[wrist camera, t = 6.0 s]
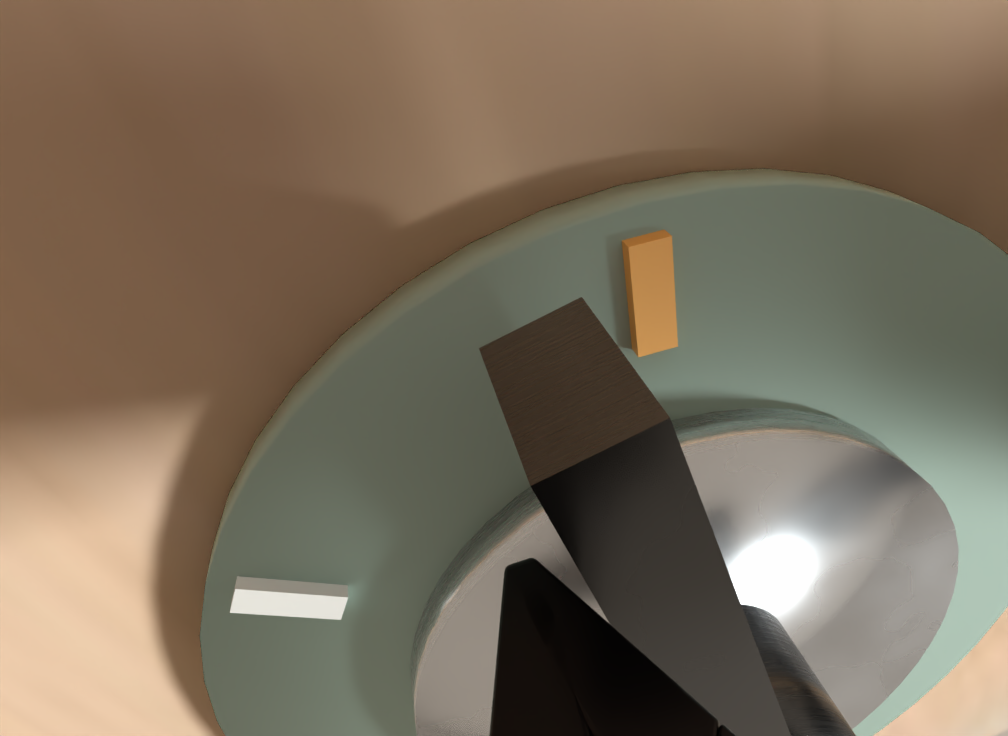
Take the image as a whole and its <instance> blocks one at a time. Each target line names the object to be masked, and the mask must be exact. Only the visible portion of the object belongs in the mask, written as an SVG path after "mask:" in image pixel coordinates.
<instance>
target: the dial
mask: <svg viewBox="0 0 1008 736" xmlns="http://www.w3.org/2000/svg"><path fill="white" fill-rule="evenodd" d="M479 350H480V353H481V356H482V358H483V361H484V364H485V366H486V369H487V372H488V374H489V377H490V380H491V382H492V385H493V388H494V390H495V393H496V396H497V398H498V401H499V404H500V406H501V409H502V412H503V414H504V417H505V420H506V422H507V425H508V428H509V430H510V433H511V436H512V438H513V441H514V444H515V446H516V449H517V452H518V454H519V457H520V460H521V462H522V465H523V468H524V470H525V473H526V476H527V478H528V481H529V484H530V486H531V487H529V488H528V489H526V490H525V491H523V492H522V493H520V494H519V495H518V496H516V497H515V498H514V499H513V500H512V501H510V502H509V503H508V504H507V505H506V506H505V507H503V508H502V509H501V510H500V511H499V512H498V513H496V514H495V515H494V516H493V517H492V518H491V519H489V520H488V521H487V522H486V523H485V524H484V525H483V526H482V527H481V528H480V529H479V531H478V532H477V533H476V534H475V535H474V536H473V537H472V538H471V539H470V540H469V541H468V542H467V543H466V545H465V546H464V547H463V548H462V549H461V550H460V551H459V552H458V554H457V555H456V557H455V558H454V559H453V561H452V562H451V563H450V565H449V566H448V568H447V569H446V570H445V572H444V573H443V575H442V576H441V577H440V579H439V580H438V582H437V584H436V586H435V588H434V590H433V592H432V594H431V595H430V597H429V599H428V601H427V603H426V605H425V607H424V609H423V612H422V615H421V618H420V621H419V623H418V626H417V629H416V632H415V635H414V641H413V647H412V653H411V660H410V670H411V689H412V698H413V707H414V717H415V726H416V732H417V736H489V734H490V723H491V712H492V701H493V689H494V678H495V667H496V656H497V645H498V634H499V623H500V612H501V601H502V590H503V579H504V570H505V568H506V566H508V565H510V564H513V563H516V562H519V561H522V560H525V559H528V558H534V559H536V560H538V561H539V562H540V563H541V564H542V565H543V566H545V567H546V568H547V569H548V570H549V571H550V572H551V573H553V574H554V575H555V576H556V577H557V578H558V579H559V580H560V581H562V582H563V583H564V584H565V585H566V586H567V587H568V588H570V589H571V590H572V591H573V592H574V593H575V594H576V595H577V596H579V597H580V598H581V599H582V600H583V601H584V602H585V603H586V604H588V605H589V606H590V607H591V608H592V609H593V610H594V611H596V612H597V613H598V614H599V615H600V616H601V617H602V618H603V619H605V620H606V621H607V622H608V623H609V624H610V625H611V626H613V627H614V628H615V629H616V630H617V631H618V632H619V633H620V634H622V635H623V636H624V637H625V638H626V639H627V640H628V641H630V642H631V643H632V644H633V645H634V646H635V647H636V648H637V649H639V650H640V651H641V652H642V653H643V654H644V655H645V656H647V657H648V658H649V659H650V660H651V661H652V662H653V663H654V664H656V665H657V666H658V667H659V668H660V669H661V670H662V671H664V672H665V673H666V674H667V675H668V676H669V677H670V678H671V679H673V680H674V681H675V682H676V683H677V684H678V685H679V686H681V687H682V688H683V689H684V690H685V691H686V692H687V693H688V694H690V695H691V696H692V697H693V698H694V699H695V700H696V701H698V702H699V703H700V704H701V705H702V706H703V707H704V708H705V709H707V710H708V711H709V712H710V713H711V714H712V715H713V716H714V717H716V718H717V719H718V720H719V726H720V725H725V726H726V727H727V728H729V729H730V730H731V731H732V732H733V733H734V734H735V735H736V736H856V735H855V733H854V732H853V730H852V729H853V728H854V727H856V726H857V725H858V724H859V723H860V722H862V721H863V720H864V719H865V718H866V717H867V716H868V715H870V714H871V713H872V712H873V711H874V710H875V709H876V708H877V707H879V706H880V705H881V704H882V703H883V702H884V701H885V700H886V699H887V698H888V696H889V695H890V694H891V693H892V692H893V691H894V690H895V689H896V688H897V687H898V686H899V685H900V684H901V683H902V682H903V680H904V679H905V678H906V677H907V675H908V674H909V673H910V672H911V671H912V669H913V668H914V667H915V666H916V664H917V663H918V662H919V660H920V659H921V657H922V656H923V654H924V653H925V651H926V650H927V648H928V647H929V645H930V644H931V642H932V641H933V639H934V637H935V635H936V633H937V631H938V629H939V628H940V626H941V624H942V622H943V620H944V618H945V615H946V613H947V610H948V607H949V605H950V602H951V599H952V596H953V593H954V588H955V583H956V579H957V574H958V554H959V547H958V541H957V536H956V531H955V525H954V523H953V521H952V518H951V516H950V514H949V512H948V509H947V507H946V505H945V503H944V502H943V501H942V499H941V498H940V497H939V495H938V494H937V493H936V491H935V490H934V489H933V487H932V486H931V485H930V484H929V483H928V482H927V481H925V480H924V479H923V478H922V477H921V476H920V475H919V474H918V473H916V472H915V471H914V470H913V469H912V468H911V467H910V466H909V465H907V464H906V463H905V462H904V461H903V460H902V459H901V458H900V457H898V456H897V455H896V454H895V453H894V452H893V451H891V450H890V449H889V448H888V447H887V446H886V445H884V444H883V443H882V442H881V441H880V440H878V439H877V438H876V437H874V436H872V435H870V434H869V433H867V432H865V431H863V430H861V429H859V428H858V427H856V426H854V425H852V424H849V423H846V422H843V421H840V420H837V419H834V418H831V417H828V416H825V415H822V414H816V413H810V412H804V411H798V410H792V409H772V408H746V409H735V410H724V411H713V412H709V413H704V414H699V415H694V416H689V417H684V418H679V419H674V420H671V419H670V417H669V416H668V414H667V413H666V412H665V410H664V409H663V407H662V406H661V405H660V403H659V402H658V401H657V399H656V398H655V397H654V395H653V394H652V392H651V391H650V390H649V388H648V387H647V386H646V384H645V383H644V381H643V380H642V379H641V377H640V376H639V375H638V373H637V372H636V370H635V369H634V368H633V366H632V365H631V364H630V362H629V361H628V360H627V358H626V357H625V355H624V354H623V353H622V351H621V350H620V349H619V347H618V346H617V344H616V343H615V342H614V340H613V339H612V338H611V336H610V335H609V333H608V332H607V331H606V329H605V328H604V327H603V325H602V324H601V322H600V321H599V320H598V318H597V317H596V316H595V314H594V313H593V312H592V310H591V309H590V307H589V306H588V305H587V303H586V302H585V301H584V299H583V298H582V297H580V298H578V299H576V300H574V301H572V302H570V303H568V304H566V305H564V306H562V307H560V308H558V309H556V310H554V311H552V312H550V313H548V314H546V315H544V316H542V317H540V318H538V319H536V320H534V321H532V322H530V323H528V324H526V325H524V326H522V327H520V328H518V329H516V330H514V331H512V332H510V333H508V334H506V335H504V336H502V337H500V338H498V339H496V340H494V341H492V342H490V343H488V344H486V345H484V346H482V347H480V348H479Z"/></svg>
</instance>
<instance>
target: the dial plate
mask: <svg viewBox="0 0 1008 736" xmlns="http://www.w3.org/2000/svg"><path fill="white" fill-rule="evenodd" d="M580 297H582V298H583V299H584V301H585V302H586V303H587V305H588V306H589V307H590V309H591V310H592V312H593V313H594V314H595V316H596V317H597V318H598V320H599V321H600V322H601V324H602V325H603V327H604V328H605V329H606V331H607V332H608V333H609V335H610V336H611V338H612V339H613V340H614V342H615V343H616V344H617V346H618V347H619V349H620V350H621V351H622V353H623V354H624V355H625V357H626V358H627V360H628V361H629V362H630V364H631V365H632V366H633V368H634V369H635V370H636V372H637V373H638V375H639V376H640V377H641V379H642V380H643V381H644V383H645V384H646V386H647V387H648V388H649V390H650V391H651V392H652V394H653V395H654V397H655V398H656V399H657V401H658V402H659V403H660V405H661V406H662V407H663V409H664V410H665V412H666V413H667V414H668V416H669V417H670V419H671V420H674V419H679V418H684V417H689V416H694V415H699V414H704V413H709V412H713V411H724V410H735V409H746V408H772V409H792V410H798V411H804V412H810V413H816V414H822V415H825V416H828V417H831V418H834V419H837V420H840V421H843V422H846V423H849V424H852V425H854V426H856V427H858V428H859V429H861V430H863V431H865V432H867V433H869V434H870V435H872V436H874V437H876V438H877V439H878V440H880V441H881V442H882V443H883V444H884V445H886V446H887V447H888V448H889V449H890V450H891V451H893V452H894V453H895V454H896V455H897V456H898V457H900V458H901V459H902V460H903V461H904V462H905V463H906V464H907V465H909V466H910V467H911V468H912V469H913V470H914V471H915V472H916V473H918V474H919V475H920V476H921V477H922V478H923V479H924V480H925V481H927V482H928V483H929V484H930V485H931V486H932V487H933V489H934V490H935V491H936V493H937V494H938V495H939V497H940V498H941V499H942V501H943V502H944V503H945V505H946V507H947V509H948V512H949V514H950V516H951V518H952V521H953V523H954V525H955V531H956V536H957V541H958V547H959V554H958V574H957V579H956V583H955V588H954V593H953V596H952V599H951V602H950V605H949V607H948V610H947V613H946V615H945V618H944V620H943V622H942V624H941V626H940V628H939V629H938V631H937V633H936V635H935V637H934V639H933V641H932V642H931V644H930V645H929V647H928V648H927V650H926V651H925V653H924V654H923V656H922V657H921V659H920V660H919V662H918V663H917V664H916V666H915V667H914V668H913V669H912V671H911V672H910V673H909V674H908V675H907V677H906V678H905V679H904V680H903V682H902V683H901V684H900V685H899V686H898V687H897V688H896V689H895V690H894V691H893V692H892V693H891V694H890V695H889V696H888V698H887V699H886V700H885V701H884V702H883V703H882V704H881V705H880V706H879V707H877V708H876V709H875V710H874V711H873V712H872V713H871V714H870V715H868V716H867V717H866V718H865V719H864V720H863V721H862V722H860V723H859V724H858V725H857V726H856V727H854V728H853V729H852V730H853V732H854V733H855V735H856V736H873V735H874V734H876V733H877V732H879V731H880V730H881V729H883V728H884V727H885V726H887V725H888V724H889V723H890V722H892V721H893V720H894V719H896V718H897V717H898V716H899V715H901V714H902V713H903V712H905V711H906V710H907V709H909V708H910V707H911V706H912V705H914V704H915V703H916V702H917V701H918V700H919V699H920V698H922V697H923V696H924V695H925V694H926V693H927V692H928V691H929V690H931V689H932V688H933V687H934V686H935V685H936V684H937V683H938V682H940V681H941V680H942V679H943V678H944V677H945V676H946V675H947V674H948V673H949V672H950V671H951V670H952V669H953V668H954V667H955V666H956V665H957V664H958V663H959V662H960V661H961V660H962V659H963V658H964V657H965V656H966V655H967V654H968V653H969V652H970V651H971V650H972V649H973V648H974V646H975V645H976V644H977V643H978V642H979V641H980V640H981V638H982V637H983V636H984V635H985V634H986V632H987V631H988V630H989V629H990V628H991V626H992V625H993V624H994V623H995V622H996V620H997V619H998V618H999V617H1000V616H1001V614H1002V613H1003V612H1004V611H1005V609H1006V608H1007V606H1008V254H1006V253H1005V252H1004V251H1003V250H1001V249H1000V248H999V247H997V246H996V245H995V244H993V243H992V242H991V241H990V240H988V239H987V238H986V237H984V236H983V235H982V234H980V233H979V232H977V231H975V230H973V229H971V228H969V227H967V226H965V225H963V224H960V223H958V222H956V221H954V220H952V219H950V218H948V217H946V216H944V215H942V214H940V213H938V212H935V211H933V210H931V209H929V208H927V207H925V206H922V205H920V204H918V203H915V202H913V201H911V200H908V199H906V198H904V197H901V196H899V195H897V194H894V193H892V192H890V191H887V190H883V189H879V188H876V187H872V186H868V185H865V184H861V183H857V182H854V181H850V180H846V179H843V178H839V177H835V176H832V175H824V174H814V173H804V172H795V171H785V170H775V169H765V168H763V169H742V170H721V171H699V172H689V173H684V174H678V175H673V176H668V177H662V178H657V179H651V180H646V181H641V182H635V183H630V184H624V185H619V186H615V187H612V188H609V189H606V190H603V191H600V192H597V193H594V194H590V195H587V196H584V197H581V198H578V199H575V200H572V201H569V202H566V203H563V204H559V205H556V206H553V207H550V208H547V209H544V210H541V211H539V212H537V213H535V214H533V215H530V216H528V217H526V218H524V219H522V220H520V221H518V222H515V223H513V224H511V225H509V226H507V227H505V228H502V229H500V230H498V231H496V232H494V233H492V234H490V235H487V236H485V237H483V238H481V239H479V240H477V241H475V242H472V243H470V244H468V245H467V246H465V247H464V248H462V249H460V250H459V251H457V252H456V253H454V254H452V255H451V256H449V257H448V258H446V259H444V260H443V261H441V262H440V263H438V264H436V265H435V266H433V267H432V268H430V269H428V270H427V271H425V272H424V273H422V274H420V275H419V276H417V277H415V278H414V279H412V280H411V281H409V282H407V283H406V284H404V285H403V286H401V287H400V288H399V289H398V290H396V291H395V292H394V293H393V294H391V295H390V296H389V297H388V298H387V299H385V300H384V301H383V302H382V303H380V304H379V305H378V306H377V307H375V308H374V309H373V310H372V311H371V312H369V313H368V314H367V315H366V316H364V317H363V318H362V319H361V320H360V321H358V322H357V323H356V324H355V325H353V326H352V327H351V328H350V329H348V330H347V331H346V332H345V333H344V334H342V335H341V337H340V338H339V339H338V340H337V341H336V342H335V343H334V344H333V345H332V346H331V347H330V348H329V349H328V350H327V351H326V352H325V354H324V355H323V356H322V357H321V358H320V359H319V360H318V361H317V362H316V363H315V364H314V365H313V366H312V367H311V368H310V369H309V370H308V372H307V373H306V374H305V375H304V376H303V377H302V378H301V379H300V380H299V381H298V382H297V383H296V384H295V385H294V386H293V388H292V389H291V391H290V392H289V393H288V395H287V396H286V398H285V399H284V401H283V402H282V403H281V405H280V406H279V408H278V409H277V410H276V412H275V413H274V415H273V416H272V418H271V419H270V420H269V422H268V423H267V425H266V426H265V427H264V429H263V430H262V432H261V433H260V435H259V436H258V437H257V439H256V440H255V442H254V444H253V446H252V448H251V450H250V452H249V454H248V456H247V458H246V460H245V462H244V464H243V466H242V468H241V470H240V472H239V474H238V476H237V478H236V480H235V482H234V484H233V486H232V488H231V490H230V492H229V494H228V498H227V501H226V504H225V508H224V511H223V514H222V518H221V521H220V524H219V528H218V531H217V534H216V538H215V541H214V544H213V548H212V553H211V558H210V563H209V569H208V574H207V579H206V584H205V591H204V601H203V610H202V620H201V629H200V643H201V653H202V663H203V673H204V682H205V685H206V688H207V691H208V694H209V697H210V700H211V704H212V707H213V710H214V713H215V716H216V719H217V722H218V724H219V725H220V727H221V729H222V730H223V732H224V734H225V736H417V732H416V726H415V717H414V707H413V698H412V689H411V670H410V660H411V653H412V647H413V641H414V635H415V632H416V629H417V626H418V623H419V621H420V618H421V615H422V612H423V609H424V607H425V605H426V603H427V601H428V599H429V597H430V595H431V594H432V592H433V590H434V588H435V586H436V584H437V582H438V580H439V579H440V577H441V576H442V575H443V573H444V572H445V570H446V569H447V568H448V566H449V565H450V563H451V562H452V561H453V559H454V558H455V557H456V555H457V554H458V552H459V551H460V550H461V549H462V548H463V547H464V546H465V545H466V543H467V542H468V541H469V540H470V539H471V538H472V537H473V536H474V535H475V534H476V533H477V532H478V531H479V529H480V528H481V527H482V526H483V525H484V524H485V523H486V522H487V521H488V520H489V519H491V518H492V517H493V516H494V515H495V514H496V513H498V512H499V511H500V510H501V509H502V508H503V507H505V506H506V505H507V504H508V503H509V502H510V501H512V500H513V499H514V498H515V497H516V496H518V495H519V494H520V493H522V492H523V491H525V490H526V489H528V488H529V487H531V486H530V484H529V481H528V478H527V476H526V473H525V470H524V468H523V465H522V462H521V460H520V457H519V454H518V452H517V449H516V446H515V444H514V441H513V438H512V436H511V433H510V430H509V428H508V425H507V422H506V420H505V417H504V414H503V412H502V409H501V406H500V404H499V401H498V398H497V396H496V393H495V390H494V388H493V385H492V382H491V380H490V377H489V374H488V372H487V369H486V366H485V364H484V361H483V358H482V356H481V353H480V350H479V348H480V347H482V346H484V345H486V344H488V343H490V342H492V341H494V340H496V339H498V338H500V337H502V336H504V335H506V334H508V333H510V332H512V331H514V330H516V329H518V328H520V327H522V326H524V325H526V324H528V323H530V322H532V321H534V320H536V319H538V318H540V317H542V316H544V315H546V314H548V313H550V312H552V311H554V310H556V309H558V308H560V307H562V306H564V305H566V304H568V303H570V302H572V301H574V300H576V299H578V298H580Z"/></svg>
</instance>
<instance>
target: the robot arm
mask: <svg viewBox="0 0 1008 736" xmlns="http://www.w3.org/2000/svg"><path fill="white" fill-rule="evenodd" d="M489 736H736V735H735V734H734V733H733V732H732V731H731V730H730V729H729V728H727V727H726V726H725V725H720V726H719V720H718V719H717V718H716V717H714V716H713V715H712V714H711V713H710V712H709V711H708V710H707V709H705V708H704V707H703V706H702V705H701V704H700V703H699V702H698V701H696V700H695V699H694V698H693V697H692V696H691V695H690V694H688V693H687V692H686V691H685V690H684V689H683V688H682V687H681V686H679V685H678V684H677V683H676V682H675V681H674V680H673V679H671V678H670V677H669V676H668V675H667V674H666V673H665V672H664V671H662V670H661V669H660V668H659V667H658V666H657V665H656V664H654V663H653V662H652V661H651V660H650V659H649V658H648V657H647V656H645V655H644V654H643V653H642V652H641V651H640V650H639V649H637V648H636V647H635V646H634V645H633V644H632V643H631V642H630V641H628V640H627V639H626V638H625V637H624V636H623V635H622V634H620V633H619V632H618V631H617V630H616V629H615V628H614V627H613V626H611V625H610V624H609V623H608V622H607V621H606V620H605V619H603V618H602V617H601V616H600V615H599V614H598V613H597V612H596V611H594V610H593V609H592V608H591V607H590V606H589V605H588V604H586V603H585V602H584V601H583V600H582V599H581V598H580V597H579V596H577V595H576V594H575V593H574V592H573V591H572V590H571V589H570V588H568V587H567V586H566V585H565V584H564V583H563V582H562V581H560V580H559V579H558V578H557V577H556V576H555V575H554V574H553V573H551V572H550V571H549V570H548V569H547V568H546V567H545V566H543V565H542V564H541V563H540V562H539V561H538V560H536V559H534V558H528V559H525V560H522V561H519V562H516V563H513V564H510V565H508V566H506V568H505V570H504V579H503V590H502V601H501V612H500V623H499V634H498V645H497V656H496V667H495V678H494V689H493V701H492V712H491V723H490V734H489Z"/></svg>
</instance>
